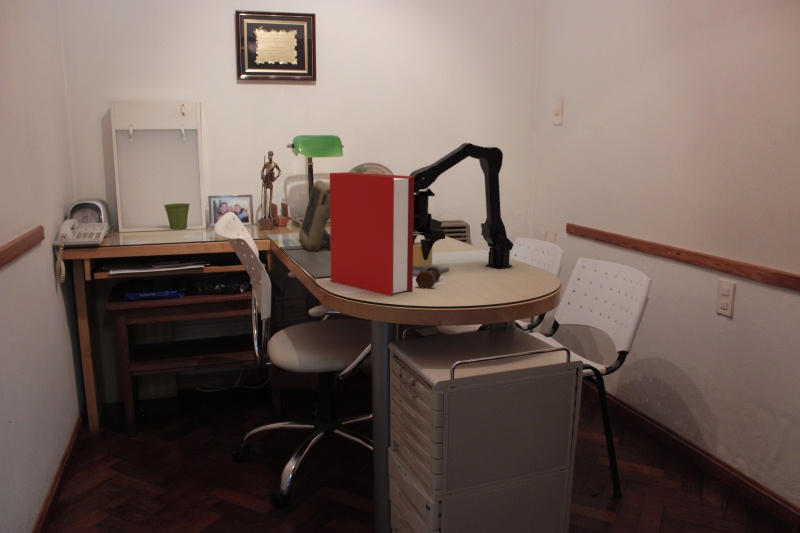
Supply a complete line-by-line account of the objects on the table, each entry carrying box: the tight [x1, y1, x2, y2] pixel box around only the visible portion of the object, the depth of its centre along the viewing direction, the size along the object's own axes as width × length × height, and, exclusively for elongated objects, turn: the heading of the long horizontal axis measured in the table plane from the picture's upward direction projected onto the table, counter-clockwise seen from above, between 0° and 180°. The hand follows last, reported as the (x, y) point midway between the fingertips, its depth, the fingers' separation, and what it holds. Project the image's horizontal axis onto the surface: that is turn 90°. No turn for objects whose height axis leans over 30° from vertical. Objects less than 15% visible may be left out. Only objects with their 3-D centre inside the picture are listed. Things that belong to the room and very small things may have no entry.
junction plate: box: [413, 264, 450, 278], centre depth 209 cm, size 14×14×5 cm
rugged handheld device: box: [298, 180, 331, 252], centre depth 257 cm, size 33×14×25 cm, turn 19°
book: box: [329, 171, 415, 297], centre depth 184 cm, size 27×8×32 cm, turn 46°
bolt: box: [415, 267, 442, 290], centre depth 192 cm, size 6×5×15 cm
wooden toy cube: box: [413, 241, 433, 266], centre depth 209 cm, size 6×6×6 cm
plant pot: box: [163, 203, 191, 230], centre depth 301 cm, size 12×12×11 cm
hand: (418, 258), depth 209 cm, fingers closed on wooden toy cube, 6 cm apart
